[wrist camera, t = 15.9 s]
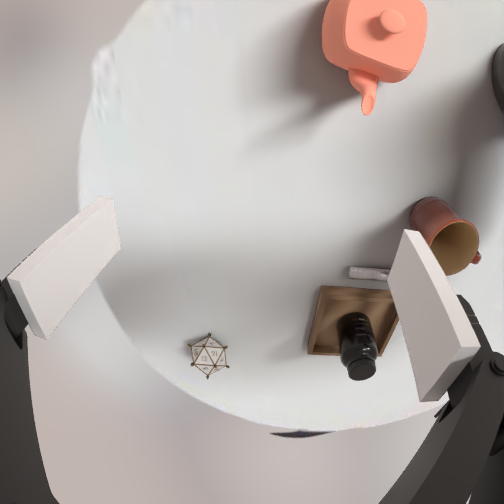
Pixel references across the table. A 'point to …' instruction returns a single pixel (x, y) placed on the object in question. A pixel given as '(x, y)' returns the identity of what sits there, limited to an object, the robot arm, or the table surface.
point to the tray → (347, 301)
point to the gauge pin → (368, 273)
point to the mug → (446, 234)
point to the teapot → (374, 41)
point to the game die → (208, 355)
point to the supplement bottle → (357, 345)
